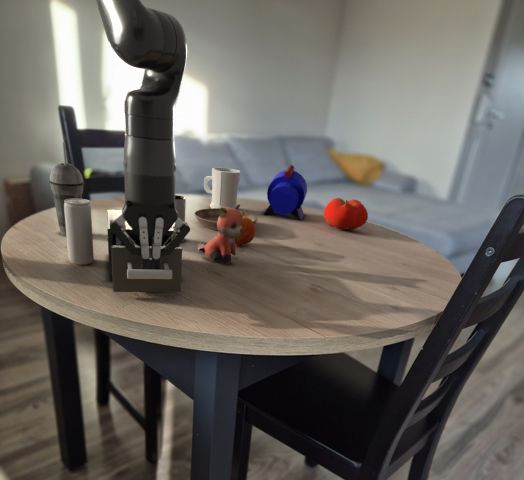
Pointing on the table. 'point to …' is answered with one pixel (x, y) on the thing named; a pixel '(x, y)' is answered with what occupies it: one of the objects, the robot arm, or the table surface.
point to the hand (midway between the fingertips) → (150, 278)
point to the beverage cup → (65, 187)
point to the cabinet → (112, 237)
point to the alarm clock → (287, 193)
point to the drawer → (134, 277)
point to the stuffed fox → (224, 236)
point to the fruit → (246, 232)
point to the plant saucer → (215, 217)
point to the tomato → (345, 214)
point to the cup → (223, 187)
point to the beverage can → (79, 231)
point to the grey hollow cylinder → (180, 207)
